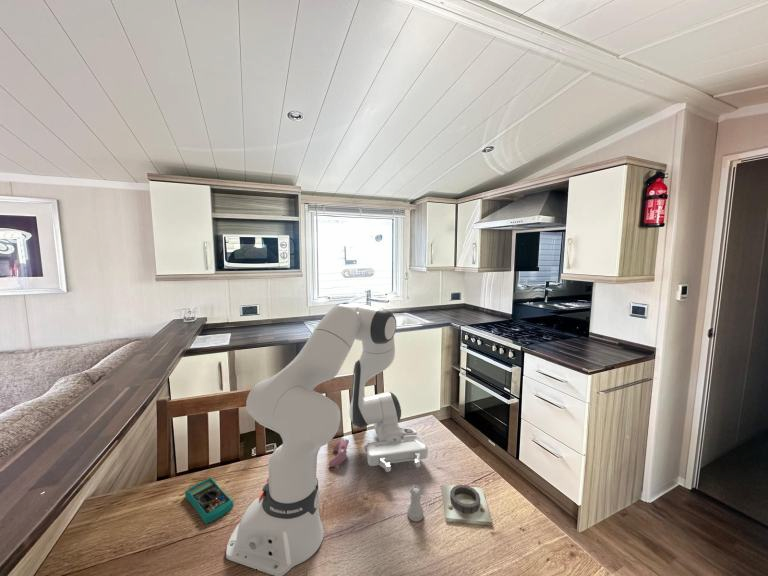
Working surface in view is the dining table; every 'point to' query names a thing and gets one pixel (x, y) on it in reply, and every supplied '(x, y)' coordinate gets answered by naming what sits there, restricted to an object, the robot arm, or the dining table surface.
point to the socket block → (465, 505)
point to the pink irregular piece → (339, 452)
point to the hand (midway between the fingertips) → (403, 467)
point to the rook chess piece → (415, 504)
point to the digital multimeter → (209, 500)
